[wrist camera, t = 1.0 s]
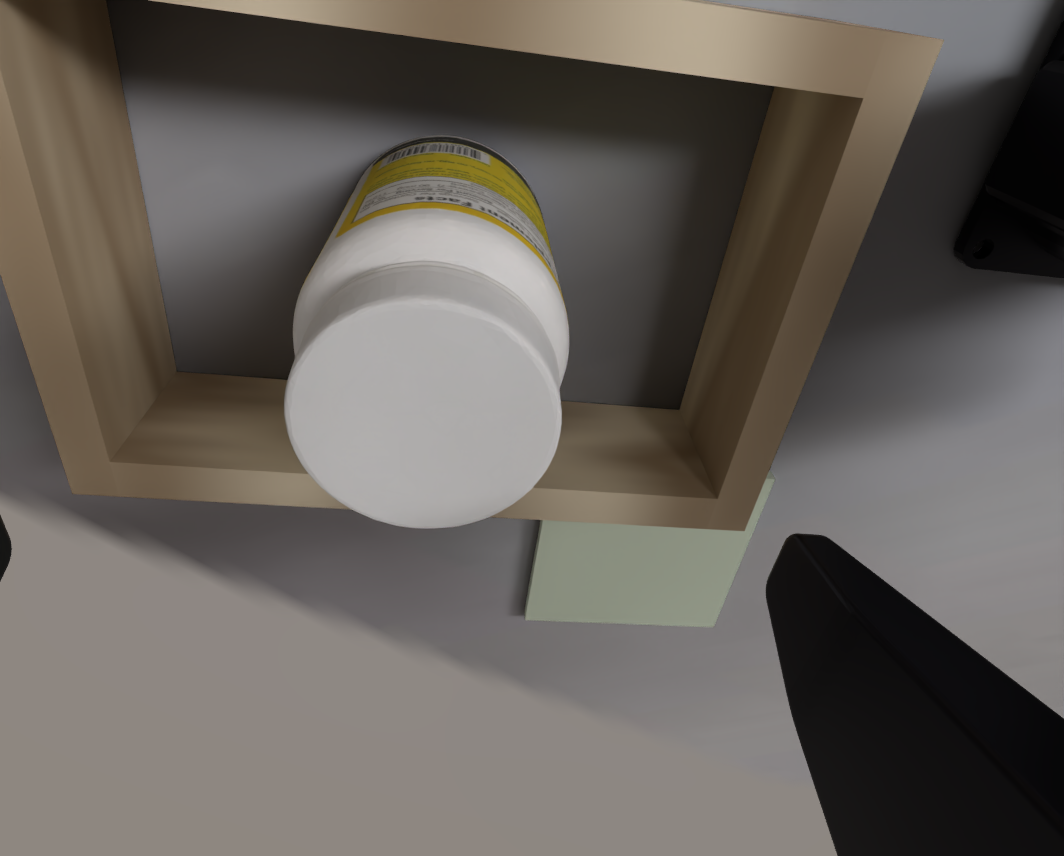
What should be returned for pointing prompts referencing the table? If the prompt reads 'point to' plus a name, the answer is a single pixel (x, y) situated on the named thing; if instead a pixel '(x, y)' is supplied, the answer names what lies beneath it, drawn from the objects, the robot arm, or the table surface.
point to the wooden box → (587, 428)
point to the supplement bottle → (430, 341)
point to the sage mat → (635, 571)
